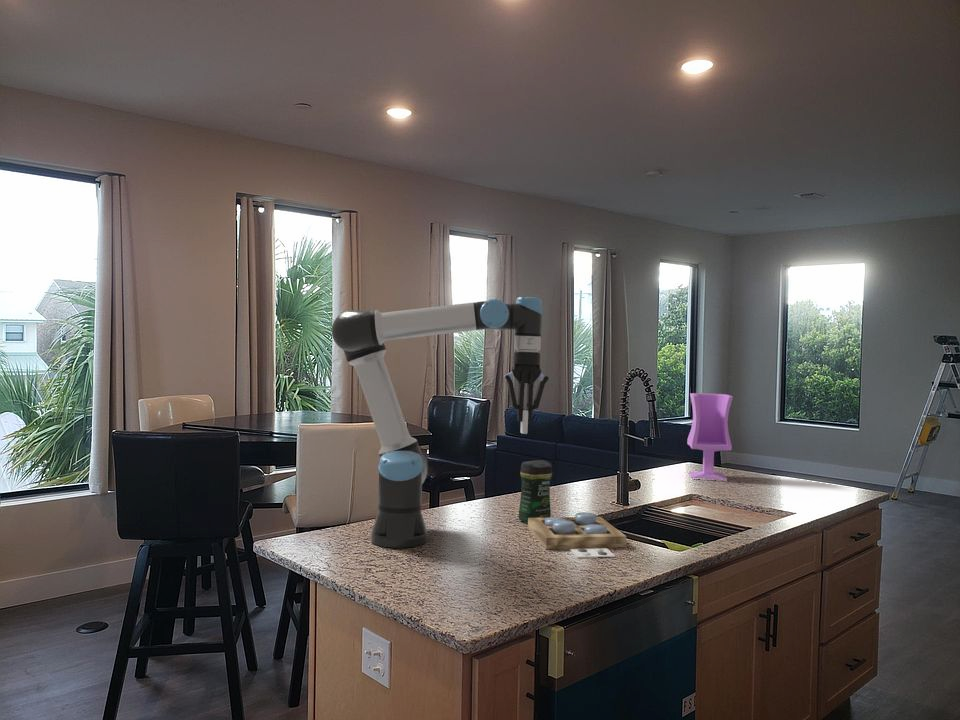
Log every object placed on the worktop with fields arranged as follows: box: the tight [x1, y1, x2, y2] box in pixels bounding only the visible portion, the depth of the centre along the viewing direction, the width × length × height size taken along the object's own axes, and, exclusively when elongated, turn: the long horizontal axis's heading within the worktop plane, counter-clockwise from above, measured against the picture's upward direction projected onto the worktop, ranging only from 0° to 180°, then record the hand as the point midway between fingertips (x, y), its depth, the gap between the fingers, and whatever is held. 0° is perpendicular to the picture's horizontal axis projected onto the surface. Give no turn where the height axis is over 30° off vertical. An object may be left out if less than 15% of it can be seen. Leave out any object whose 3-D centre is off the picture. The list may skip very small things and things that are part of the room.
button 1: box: [545, 516, 566, 526], centre depth 205 cm, size 6×6×2 cm
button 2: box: [553, 520, 575, 535], centre depth 196 cm, size 6×6×2 cm
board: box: [527, 516, 627, 550], centre depth 201 cm, size 22×22×3 cm
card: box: [569, 548, 616, 559], centre depth 185 cm, size 10×7×1 cm
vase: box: [686, 392, 734, 479], centre depth 300 cm, size 16×16×35 cm
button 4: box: [584, 524, 607, 534], centre depth 197 cm, size 6×6×2 cm
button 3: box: [574, 512, 597, 526], centre depth 206 cm, size 6×6×2 cm
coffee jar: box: [518, 459, 553, 524], centre depth 218 cm, size 10×8×19 cm
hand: (523, 433), depth 206 cm, fingers closed
